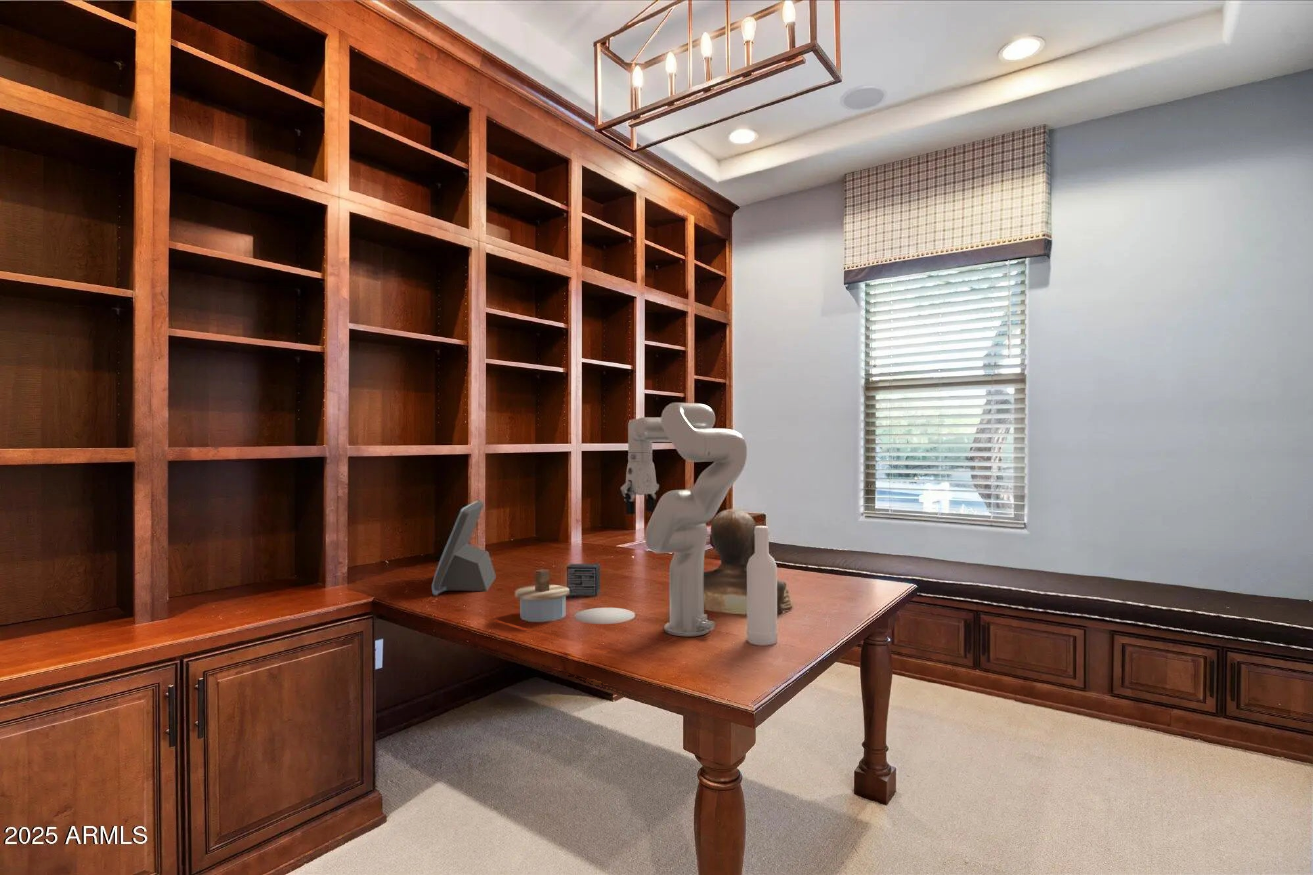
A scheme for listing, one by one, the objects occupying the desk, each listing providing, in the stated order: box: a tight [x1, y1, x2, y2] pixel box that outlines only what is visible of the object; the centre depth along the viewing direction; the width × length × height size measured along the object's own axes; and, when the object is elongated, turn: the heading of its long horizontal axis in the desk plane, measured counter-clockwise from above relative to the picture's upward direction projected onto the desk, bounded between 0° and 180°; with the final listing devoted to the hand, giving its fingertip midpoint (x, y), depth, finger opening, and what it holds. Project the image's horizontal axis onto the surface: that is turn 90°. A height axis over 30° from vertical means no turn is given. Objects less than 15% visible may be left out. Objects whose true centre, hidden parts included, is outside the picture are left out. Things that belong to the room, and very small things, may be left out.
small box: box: [566, 563, 601, 598], centre depth 220 cm, size 11×6×10 cm, turn 84°
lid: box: [514, 568, 569, 601], centre depth 192 cm, size 16×16×7 cm
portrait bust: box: [704, 508, 793, 615], centre depth 207 cm, size 21×35×31 cm, turn 63°
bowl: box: [519, 596, 567, 623], centre depth 192 cm, size 13×13×7 cm
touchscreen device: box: [431, 500, 497, 596], centre depth 238 cm, size 35×20×30 cm, turn 7°
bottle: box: [746, 525, 779, 647], centre depth 169 cm, size 8×8×30 cm
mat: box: [574, 607, 636, 625], centre depth 192 cm, size 18×18×1 cm
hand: (640, 512), depth 202 cm, fingers open, 9 cm apart
